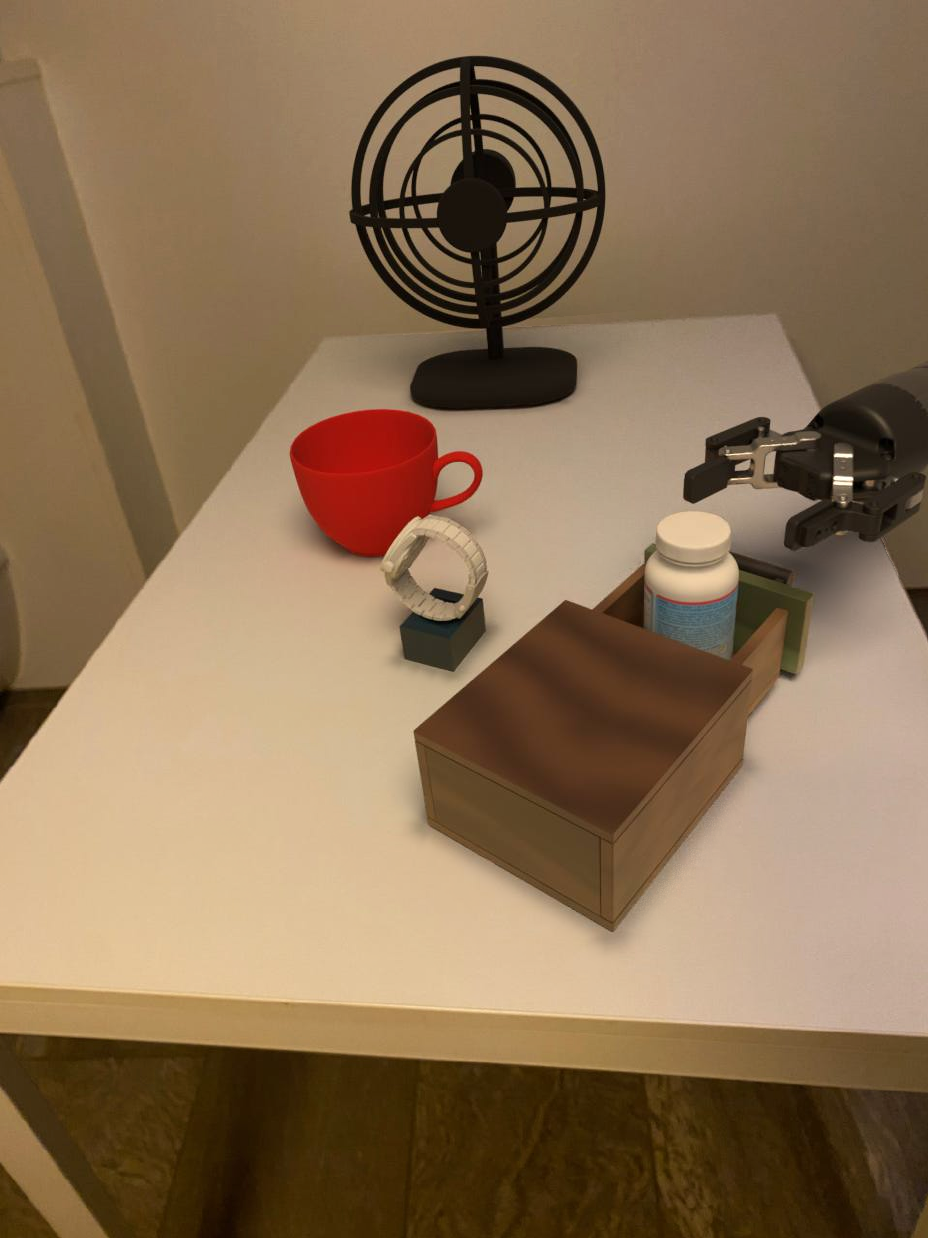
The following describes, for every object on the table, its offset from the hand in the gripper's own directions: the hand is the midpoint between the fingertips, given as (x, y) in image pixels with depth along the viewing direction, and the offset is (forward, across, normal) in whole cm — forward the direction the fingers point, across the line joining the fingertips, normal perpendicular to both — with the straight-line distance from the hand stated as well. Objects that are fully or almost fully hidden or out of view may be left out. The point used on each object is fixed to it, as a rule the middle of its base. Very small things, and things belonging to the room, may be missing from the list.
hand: (735, 512), depth 63 cm
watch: (+14, +16, -13) cm, 25 cm away
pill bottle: (+4, 0, -11) cm, 12 cm away
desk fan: (-20, +54, -13) cm, 59 cm away
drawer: (+3, 0, -12) cm, 12 cm away
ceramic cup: (+8, +32, -13) cm, 36 cm away
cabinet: (+16, -3, -13) cm, 21 cm away
